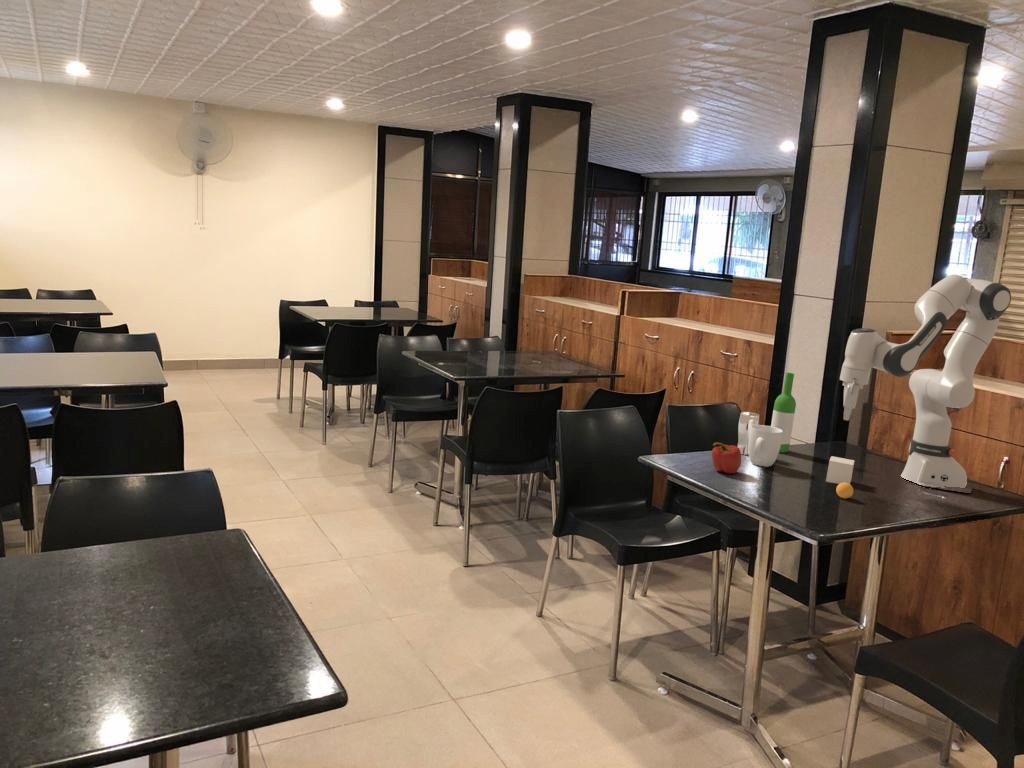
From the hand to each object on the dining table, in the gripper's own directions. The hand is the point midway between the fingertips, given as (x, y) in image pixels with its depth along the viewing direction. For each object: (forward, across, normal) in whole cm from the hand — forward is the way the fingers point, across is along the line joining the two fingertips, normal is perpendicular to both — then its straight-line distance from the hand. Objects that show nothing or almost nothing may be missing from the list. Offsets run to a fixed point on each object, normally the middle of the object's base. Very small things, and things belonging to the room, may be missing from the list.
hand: (846, 417), depth 272 cm
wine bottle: (+22, +32, +20) cm, 44 cm away
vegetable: (+24, -14, +34) cm, 44 cm away
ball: (+20, -19, -4) cm, 28 cm away
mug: (+23, +4, +24) cm, 34 cm away
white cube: (+22, +1, -2) cm, 22 cm away
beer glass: (+23, +18, +31) cm, 43 cm away
